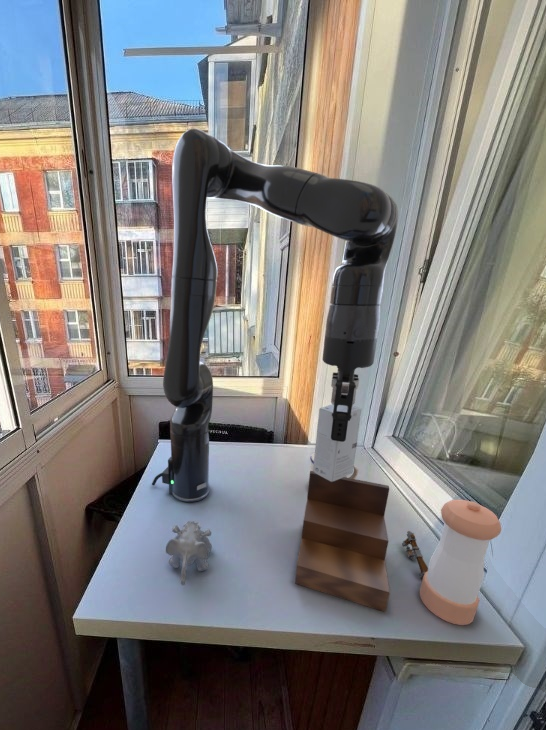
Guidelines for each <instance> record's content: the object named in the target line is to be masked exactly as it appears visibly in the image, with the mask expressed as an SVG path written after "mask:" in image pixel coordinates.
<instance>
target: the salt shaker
mask: <svg viewBox="0 0 546 730" xmlns="http://www.w3.org/2000/svg"><path fill="white" fill-rule="evenodd" d="M440 515H441V519H442V521H443V522H444V523H443V526H442V531H441V534H440V538H439V542H438V544H437V545H436V546H435V549H434V551H433V553H432V555H431V557H430V560H429V563H428V566H427V567H428V571H427V572H425V574H424V576H423V578H422V580H421V584H420V587H419V597H420V599H421V601H422V604H424V606H425V607H426V609H428V610H429V611H430V612H431V613H432V614H433V615H435V616H436V617H437V618H440V619H442V620H443V621H446V622H447V623H450V624H453V625H459V626H465V625H466V626H467V625H470V624H471V623H473V622H474V619H475V616H476V613H477V610H478V607H479V604H480V597H479V594H480V590H481V588H482V585H483V582H484V569H485V567H484V566H485V557H486V554H487V551H488V548H489V544H490V541H492V540H493V539H495V538H497V537H498V536H499V535H500V534H501V532H502V524H501V522H500V520H499V518H498V517H497V515H496V514H495V513H494V512H493V511H492V510H491V509H489V508H487V507H485V506H483V505H481V504H479V503H478V502H475V501H470V500H465V499H451V500H449V501H447V502H445V503H444V504H443V505H442V507H441V508H440Z"/></svg>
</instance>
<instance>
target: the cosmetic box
mask: <svg viewBox="0 0 546 730" xmlns="http://www.w3.org/2000/svg"><path fill="white" fill-rule="evenodd" d="M333 409H334V405H333V404H332V403H331V404H328V405H326V406H322V407H319V408H318V417H317V418H318V419H317V429H316V438H315V446H314V452H315V455H314V465H313V472H315V473H316V474H318V475H320V476H321V477H323V478H325V479H327V480H329V481H331V482H333V481H336V480H338V479H341V478H343V477H345V476H347V477H348V476H349V475H352V474H353V473H354V465H355V462H356V461H355V460H356V453H357V447H358V438H359V431H360V423H361V415H362V408H360V407H358V406H355V405H354V406H352V410H351V415H352V416H351V419H350V421H348V426H347V433H346V440H345V441H344V442H341V441H334V440H332V439H331V431H332V423H333V416H332V413H333ZM337 411H340V412H347V406H344V405H338V406H337Z"/></svg>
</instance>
